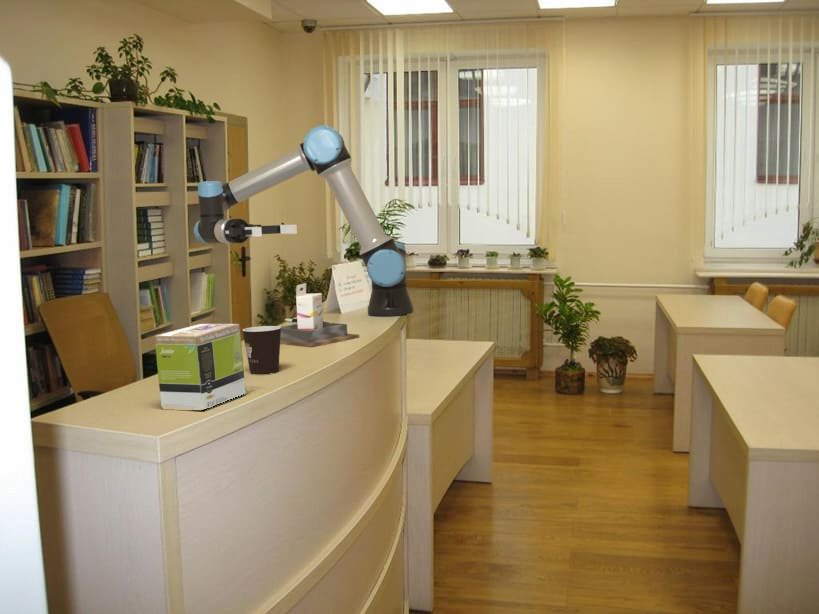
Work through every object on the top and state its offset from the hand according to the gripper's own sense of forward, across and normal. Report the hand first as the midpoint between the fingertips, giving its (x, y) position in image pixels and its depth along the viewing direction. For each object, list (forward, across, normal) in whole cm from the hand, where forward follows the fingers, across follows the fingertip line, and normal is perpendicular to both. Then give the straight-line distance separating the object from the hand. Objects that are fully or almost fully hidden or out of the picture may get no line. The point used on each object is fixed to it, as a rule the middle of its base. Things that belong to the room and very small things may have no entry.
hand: (278, 230), depth 272 cm
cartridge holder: (+19, +7, -30) cm, 36 cm away
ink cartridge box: (+19, +7, -29) cm, 35 cm away
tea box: (+59, +73, -30) cm, 99 cm away
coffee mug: (+44, +45, -30) cm, 70 cm away
